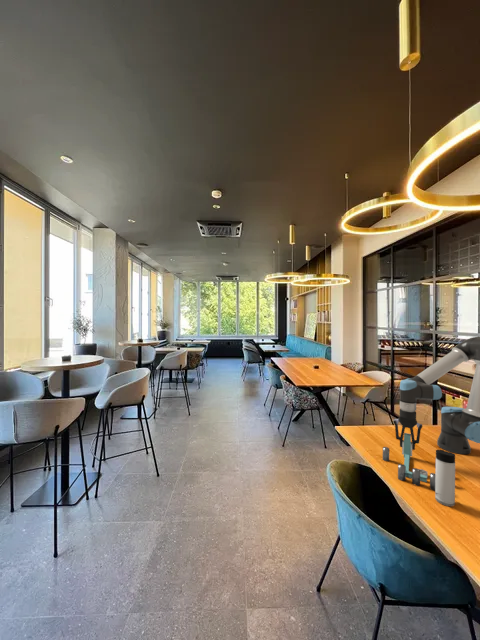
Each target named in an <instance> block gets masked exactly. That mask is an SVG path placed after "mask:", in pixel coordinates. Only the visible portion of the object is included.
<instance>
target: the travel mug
mask: <svg viewBox="0 0 480 640" xmlns="http://www.w3.org/2000/svg"><path fill="white" fill-rule="evenodd" d="M434 492H435V493H434V497H435V501H436V502H438V503H439V504H441V505H442V506H445V507H454V506H455V505H456V453H453V452H449V451H446V450H444V449H436V450H435V491H434Z"/></svg>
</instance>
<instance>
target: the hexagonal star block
mask: <svg viewBox="0 0 480 640" xmlns="http://www.w3.org/2000/svg"><path fill="white" fill-rule="evenodd" d="M418 469H419V470H420V474H421V475H425V476H427V479H428V474H429V473H428V471H427V470H425V469H422V468H418Z"/></svg>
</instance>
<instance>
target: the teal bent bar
mask: <svg viewBox="0 0 480 640" xmlns="http://www.w3.org/2000/svg"><path fill="white" fill-rule="evenodd" d="M403 440H404V454H403V458H404V461H403V465H405V466H406V478H409V479H412V471H410V470H409V469H410V460H411V456H410V453H411V442H412V438H411V433H407V432H404V436H403ZM420 482H424V483H426V484H427V483H428V478H427V476H425V475H421V474H420Z"/></svg>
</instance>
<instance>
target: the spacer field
mask: <svg viewBox="0 0 480 640" xmlns="http://www.w3.org/2000/svg"><path fill="white" fill-rule="evenodd" d="M382 461H384V462H389V461H390V447H387V446H383V447H382ZM419 469H420V468H416V467H414V468H412V470H411V472H412V478H411V483H412V484H413V485H415V486H417V487H418V486H420V485H421V481H420V470H419ZM435 474H436V472H435V473H434V472H430V473H429V489H430V490H432V491H433V492H435ZM397 479H398V480H399V481H402V482H406V479H407V477H406V466H405V465H404V464H402V463H399V464H397Z"/></svg>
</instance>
